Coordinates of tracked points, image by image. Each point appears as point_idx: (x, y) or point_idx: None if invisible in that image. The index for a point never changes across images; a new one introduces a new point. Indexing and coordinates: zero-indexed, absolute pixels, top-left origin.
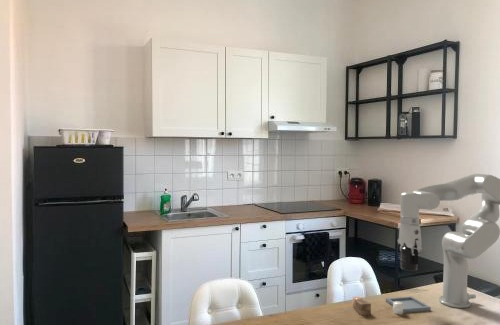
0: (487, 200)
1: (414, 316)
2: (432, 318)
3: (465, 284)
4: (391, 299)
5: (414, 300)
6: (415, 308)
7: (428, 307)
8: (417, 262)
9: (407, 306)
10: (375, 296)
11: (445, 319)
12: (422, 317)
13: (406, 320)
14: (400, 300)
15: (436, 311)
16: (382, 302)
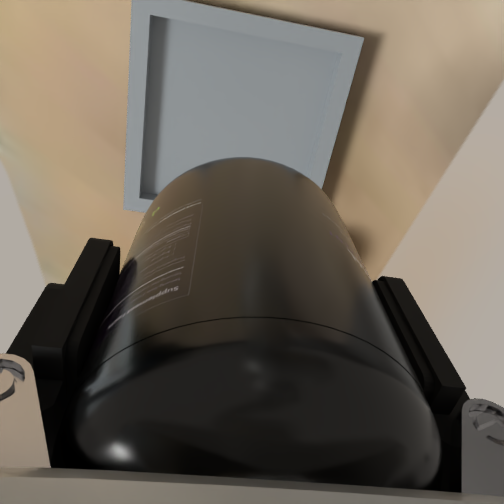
0: None
1: (367, 205)
2: (439, 133)
3: None
4: (141, 180)
5: (197, 23)
6: (329, 158)
7: (358, 57)
8: (403, 298)
9: (256, 149)
10: (27, 199)
11: (495, 67)
12: (399, 175)
13: (379, 274)
14: (150, 111)
15: (388, 4)
16: (135, 226)
